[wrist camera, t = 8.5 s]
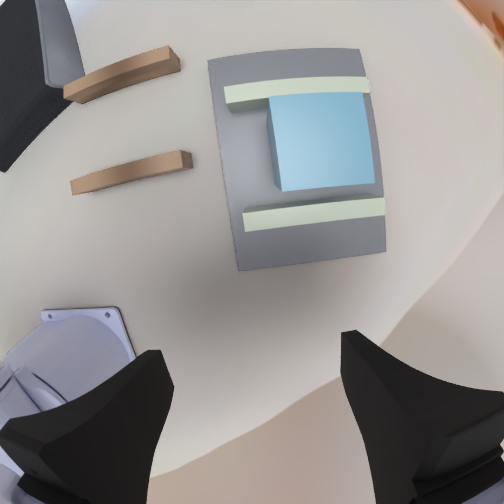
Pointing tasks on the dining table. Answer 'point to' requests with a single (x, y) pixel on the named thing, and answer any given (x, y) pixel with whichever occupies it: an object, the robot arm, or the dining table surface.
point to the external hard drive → (33, 70)
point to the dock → (261, 168)
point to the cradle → (115, 79)
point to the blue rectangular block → (319, 140)
